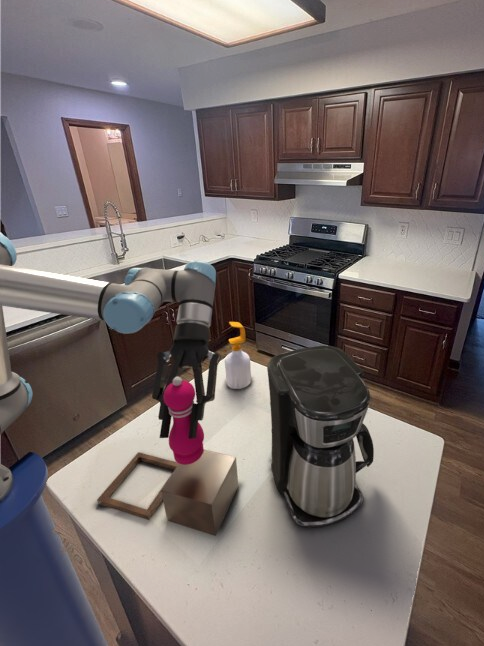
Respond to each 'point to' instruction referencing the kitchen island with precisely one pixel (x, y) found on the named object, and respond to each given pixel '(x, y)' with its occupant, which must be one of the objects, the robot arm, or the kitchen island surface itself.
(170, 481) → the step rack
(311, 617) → the kitchen island surface
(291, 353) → the coffee maker
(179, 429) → the pepper mill
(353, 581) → the kitchen island surface
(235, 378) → the soap bottle
